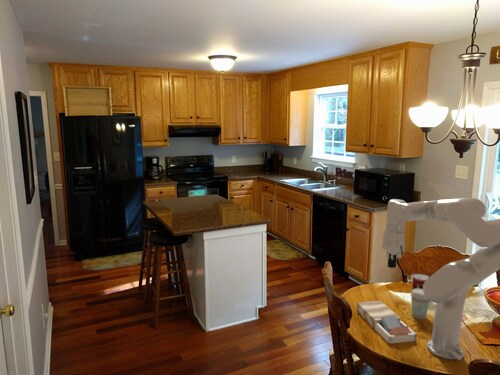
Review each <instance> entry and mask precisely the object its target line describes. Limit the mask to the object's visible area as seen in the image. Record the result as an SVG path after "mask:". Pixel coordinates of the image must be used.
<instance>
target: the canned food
mask: <svg viewBox="0 0 500 375" xmlns="http://www.w3.org/2000/svg"><path fill="white" fill-rule="evenodd" d="M429 277H430V276H429V275H426V274H421V273H415V274H413V276H412V284H411V286H412V287H411V291H412V290H413V289H423V285H424V282H425V281H426V280H427V279H428V278H429Z"/></svg>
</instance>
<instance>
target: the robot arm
mask: <svg viewBox="0 0 500 375" xmlns="http://www.w3.org/2000/svg"><path fill="white" fill-rule="evenodd" d="M386 211H387V212H386V223H385V224H386V225H385V228H384V231H383V236H382V244H381V248H382V249H383V250H384V251H385V252H386V254H387V267H388V268H389V269H393V268H397V260H398V259H402V255H403V254H404V253H405V227H406V222H414V221H420V220H438V221H439V222H440V223H441V222H443V223H445V222H446V223H451V224H452V225H453V226H454V227H455V229H457V230H459V231H460V232H461V234H463V235H464V236H465V237H466V238H467V239H469V241H470V242H472V243H473V244H475V245H476V246H478V247H481V248H479V249H478V250H477V251H476V252H474V253H473V254H472V255H470V256H468V257H466V258H463V259H460V260H459V259H458V260H455V261H452V262H449V263H447V264H445V265H443V266H441V268H438V270H437V271H436V272H434V273H433V274H432V275H430V276H428V277H429V278H428V279H427V280H426V281H425V282H424V285H423V292H424V295H425V297H426V298H427V299H428V300H430V302H431V303H434V304H435V305H434V306H435V307H434V314H433V324H432V336H431V339H429V340H428V341H427V343H426V347H427V349H428V351H429V352H430V353H431V354H433V355H435V356H437V357H440V358H442V359H445V360H453V361H454V360H457V361H461V360H462V359H463V358H465V355H466V354H465V353H464V351H463V349H462V345H460V343H461V342H460V341H461V340H460V339H461V333H462V324H463V315H464V307H465V303H466V300H467V296H468V294H469V288H471V287H474V286H478V285H479V284H480V283H482V282H483V281H484V280H486V279H487V278H489V277H491V276H492V275H494V274H495V273H496V272H497V271H499V270H500V218H497V219H490V220H485V219H484V218H483V217H484V216H485V215H486V212H487V207H486V204H485V203H484V202H483V201H482V200H480V199H478V198H475V197H463V198H461V197H460V198H447V199H438V200H430V201H428V200H427V201H425V200H424V201H413V202H408V203H407V202H406V201H405V200H403V199H398V198H397V199H396V198H392V199H390V200H389V201H388V202H387V210H386Z"/></svg>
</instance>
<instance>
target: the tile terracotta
mask: <svg viewBox="0 0 500 375" xmlns="http://www.w3.org/2000/svg"><path fill="white" fill-rule="evenodd" d="M408 327H409V326H408V325H407V326H403V327H394V328H393V329H391V330H389V331H388V333H389V334H390V335H398V334H408V333H410V331H409V328H410V327H409V328H408Z"/></svg>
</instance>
